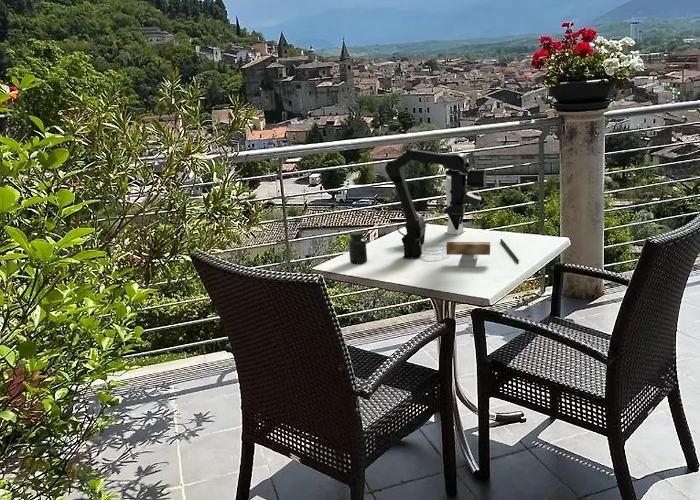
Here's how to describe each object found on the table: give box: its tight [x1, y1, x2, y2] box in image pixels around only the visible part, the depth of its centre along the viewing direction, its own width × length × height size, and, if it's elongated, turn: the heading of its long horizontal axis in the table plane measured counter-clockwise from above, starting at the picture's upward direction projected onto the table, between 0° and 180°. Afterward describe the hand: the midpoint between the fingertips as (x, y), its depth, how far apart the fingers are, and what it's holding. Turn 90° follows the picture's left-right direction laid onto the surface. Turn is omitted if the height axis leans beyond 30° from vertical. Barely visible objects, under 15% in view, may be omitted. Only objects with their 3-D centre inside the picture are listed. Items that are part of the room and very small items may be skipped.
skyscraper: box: [443, 175, 467, 236], centre depth 299 cm, size 8×8×28 cm
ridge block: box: [458, 255, 479, 268], centre depth 256 cm, size 6×10×4 cm, turn 165°
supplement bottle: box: [348, 231, 368, 265], centre depth 266 cm, size 7×7×12 cm
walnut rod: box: [445, 241, 491, 256], centre depth 255 cm, size 16×4×4 cm, turn 75°
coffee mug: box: [396, 218, 427, 246], centre depth 289 cm, size 12×9×10 cm
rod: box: [500, 238, 520, 264], centre depth 267 cm, size 31×1×2 cm, turn 179°
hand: (458, 227), depth 260 cm, fingers open, 9 cm apart
